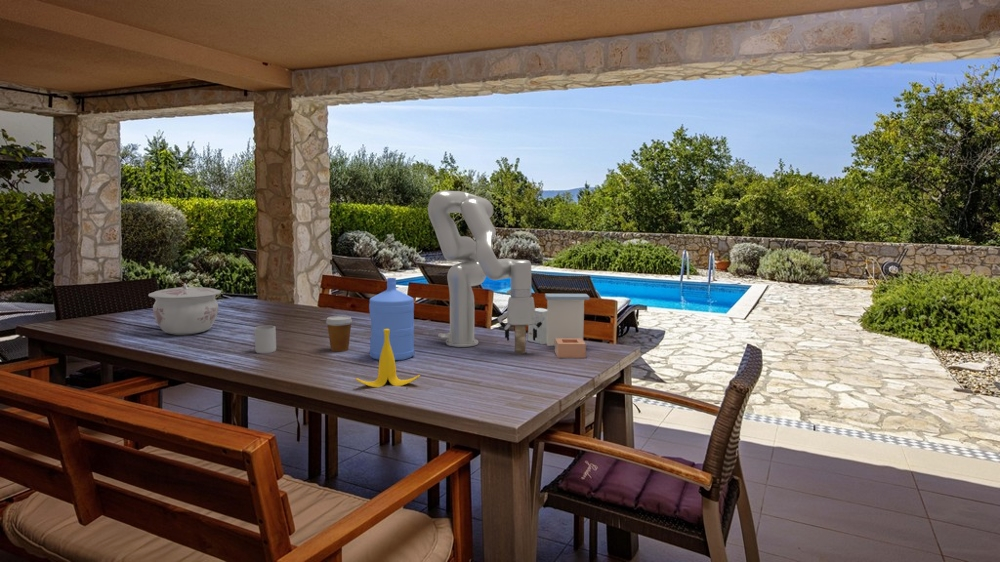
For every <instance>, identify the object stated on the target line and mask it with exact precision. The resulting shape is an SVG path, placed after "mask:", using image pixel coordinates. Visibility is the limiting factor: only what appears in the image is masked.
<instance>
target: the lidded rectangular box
mask: <svg viewBox="0 0 1000 562" xmlns="http://www.w3.org/2000/svg"><path fill="white" fill-rule="evenodd" d="M544 298H545V299H546V300H547V301H546V303H547V304H546V305H547V306H546V307H547V308H546V309H547V343H546V346H548V347H555V338H582V339H583V340H584V328H585V327H584V323H585V320H584V319H585V301H590V299H591V297H590V295H588V294H587V293H544Z"/></svg>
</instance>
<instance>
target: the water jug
mask: <svg viewBox="0 0 1000 562" xmlns="http://www.w3.org/2000/svg"><path fill="white" fill-rule="evenodd" d="M396 280H397V278H396V277H387V278H386V282H387V283H386V287H387V288H386V290H383V291H381V292H380V293H378V294H376V295H374V296H372V297H370V298H369V305H368V309H369V318H370V332H371V333H370V337H369V347H370V349H369V356H370V358H372V359H373V360H377V361H379V359H380V355H381V351H382V348H383V345H384V339H385V337H384V329H389V330H390V332H389V342H390V346H391V348H392V352H393V355H394V359H395V362H396V361H405V360H408V359H410V358H412V357H414V355H415V338H414V337H415V336H414V334H415V325H414V321H415V319H414V318H415V317H414V316H415V315H414V313H415V312H414V311H415V302H414V301H415V300H414V298H413V297H412V296H410V295H408V294H406V293H404V292H402V291H399V290H398V289H397V281H396Z"/></svg>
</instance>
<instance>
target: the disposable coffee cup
mask: <svg viewBox="0 0 1000 562" xmlns="http://www.w3.org/2000/svg"><path fill="white" fill-rule="evenodd" d="M352 322H353V320H352V317H351V316H347V315H334V316H328V317H327V318H326V320H325V323H326V325H327V331H328V333H327V334H328V337H329V345H330V346H329V347H330V351H332V352H345V351H348V350H349V346H350V338H351V337H350V336H351V328H352Z"/></svg>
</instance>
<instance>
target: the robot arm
mask: <svg viewBox="0 0 1000 562" xmlns="http://www.w3.org/2000/svg"><path fill="white" fill-rule="evenodd" d="M427 213H428V217H429V220H430V222H431V225H432V227H433V230H434V232H435V235H436V238H437V241H438V244H439V247H440V249H441V252H442V256H443V257H444V259H445V260H447V261H449V262H459V261H460V263H456V264H454V265H452V266H451V267H450V268H449V269H448V271H447V276H446V277H447V278H446V279H447V284H448V291H449V332H446V333H441V332H440V333H439V332H438V339H440V340H445V344H446V346H449V347H456V348H457V347H458V348H468V347H474V346H477V345H478V344H479V340H478V339H476V338H475V295H474V291H473V288H472V287H476V286H479V285H481V284H482V283H484V281H485V280H486V278H488V279H489V280H492V281H498V280H506V279H510V289H509V290H506V295H509V298H508V301H507V311H506V312H505V313H504V314H502V315H499V316H498V317H497V321H498V323H499V325H500V326H501V327H502V328H503V329H504V338H505V339H506V341H510V329H509V328H510V327H511V326H515V325H526V326H528V325H532V326H533V327H534V328H533V340H534V341H535V338H537V329H538V328H539V327H540V326H541V325H542V323H543V321H544V319H545V318H544V317H543V316H541V315H539V314H537V313H535V308H536V307H535V299H534V296H532V263H531V261H530V260H528V259H513V258H497V256H496V255H495V252H494V250H493V247H492V241H493V238H494V237H495V236H496V233H497V230H496V228H495V226H494V224H493V223H492V221H491V219H490V218H491V217H492V216H493V213H494V207H493V205H492V203H491V201H490V200H488V199H487V198H484V197H481V196H479V195H478V196H477V195H475V194H472V193H469V192H465V191H460V190H458V191H457V190H440V191H437V192H435V193H434V194H433V195H432V196H431V197H430V199H429V201H428V206H427ZM457 213H458V214H461V215H462V217H463V219H464V221H465V223H466V224H467V227H468V229H469V230H470V231H469V232H470V233H471V234H472V237H473V238H474V239H473V238H471V237H469V236H466V235H464V236H462V235H461V234H460V233H459V230H458V225H456V222H455V221H454V219H453V217H451V215H450V214H457ZM535 317H537V318H539V319H540V321H539V322H538V323H537V324H535ZM505 318H507V319H506V320H507V323H506V324H505V323H504V321H503V320H504V319H505Z"/></svg>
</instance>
